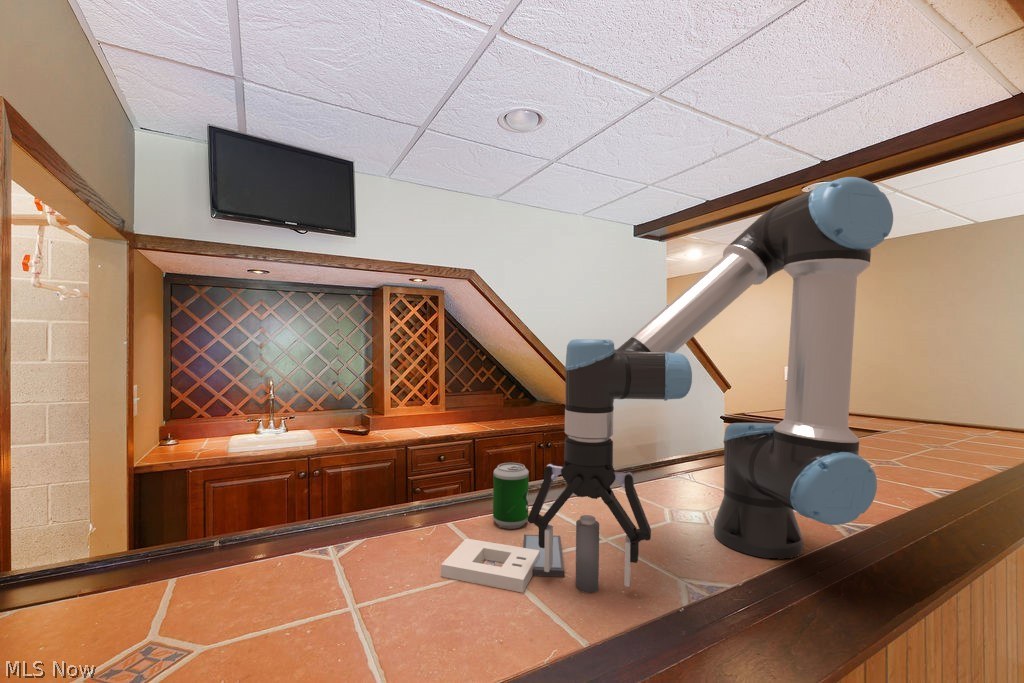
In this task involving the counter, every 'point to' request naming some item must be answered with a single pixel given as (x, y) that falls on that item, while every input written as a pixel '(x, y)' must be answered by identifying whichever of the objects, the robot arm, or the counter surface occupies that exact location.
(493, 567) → the outlet
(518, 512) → the soda can
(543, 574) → the phone
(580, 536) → the plug
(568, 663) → the counter surface
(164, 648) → the counter surface
